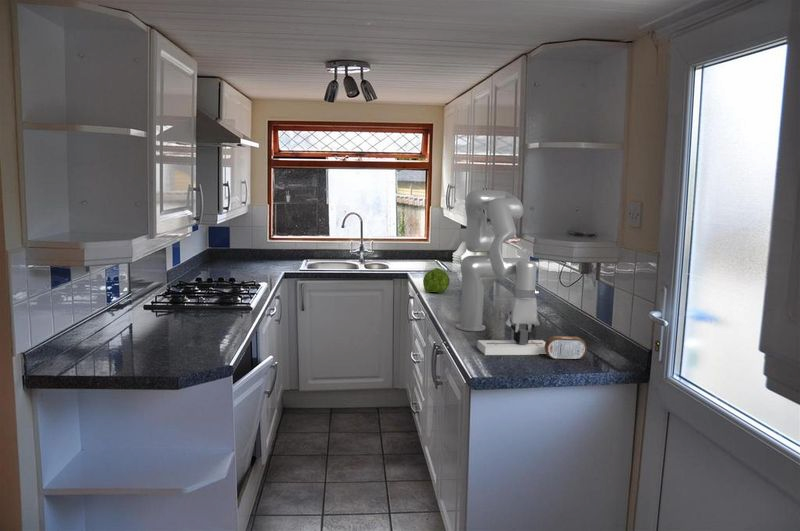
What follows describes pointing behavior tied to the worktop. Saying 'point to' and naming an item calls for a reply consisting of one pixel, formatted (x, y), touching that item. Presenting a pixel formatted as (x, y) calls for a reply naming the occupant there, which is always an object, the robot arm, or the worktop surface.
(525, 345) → the console
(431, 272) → the lettuce
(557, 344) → the tin
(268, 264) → the worktop surface
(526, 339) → the fader tab
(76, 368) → the worktop surface
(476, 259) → the robot arm
